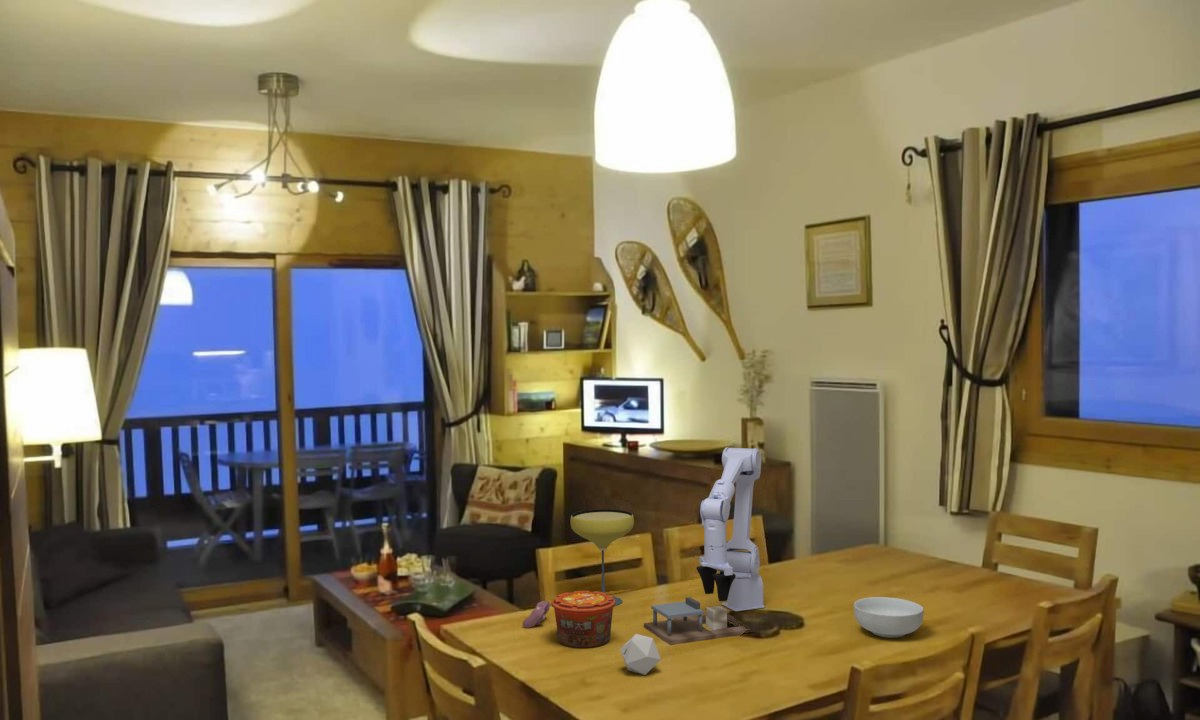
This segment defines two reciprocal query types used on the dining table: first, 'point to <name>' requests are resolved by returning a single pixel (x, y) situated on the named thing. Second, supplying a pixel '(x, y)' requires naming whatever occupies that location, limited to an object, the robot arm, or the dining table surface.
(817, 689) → the dining table surface
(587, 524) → the cocktail glass
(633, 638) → the die
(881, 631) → the cereal bowl
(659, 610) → the grey miniature stool
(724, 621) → the block
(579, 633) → the food container
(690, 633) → the puzzle board
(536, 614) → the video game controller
